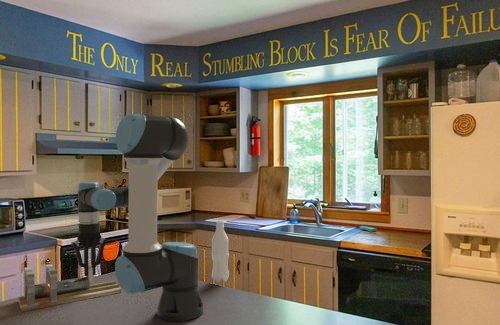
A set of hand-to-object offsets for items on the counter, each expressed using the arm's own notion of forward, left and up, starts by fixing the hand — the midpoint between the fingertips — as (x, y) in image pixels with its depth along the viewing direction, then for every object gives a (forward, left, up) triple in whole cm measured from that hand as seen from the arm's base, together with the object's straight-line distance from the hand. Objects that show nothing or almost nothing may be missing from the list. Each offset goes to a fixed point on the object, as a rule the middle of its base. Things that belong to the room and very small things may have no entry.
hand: (90, 284), depth 153 cm
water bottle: (-16, -48, -4) cm, 51 cm away
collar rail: (0, +7, -4) cm, 7 cm away
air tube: (0, +11, -2) cm, 11 cm away
